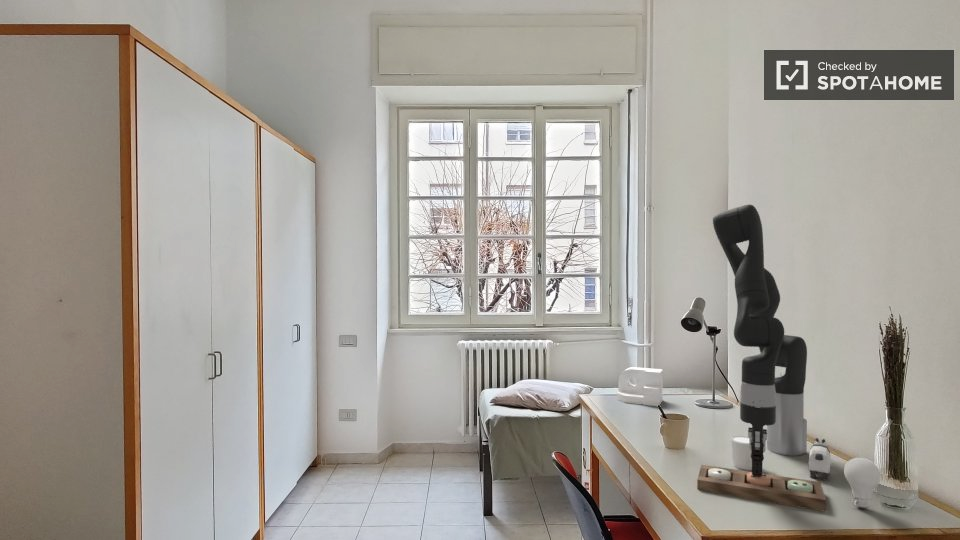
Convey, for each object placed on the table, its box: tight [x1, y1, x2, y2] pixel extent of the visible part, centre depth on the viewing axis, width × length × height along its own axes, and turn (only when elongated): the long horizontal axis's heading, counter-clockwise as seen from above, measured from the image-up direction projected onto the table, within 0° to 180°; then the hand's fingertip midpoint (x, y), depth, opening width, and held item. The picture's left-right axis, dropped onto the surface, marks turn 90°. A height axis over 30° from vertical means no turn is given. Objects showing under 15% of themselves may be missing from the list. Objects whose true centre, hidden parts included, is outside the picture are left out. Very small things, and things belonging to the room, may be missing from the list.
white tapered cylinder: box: [729, 435, 752, 471], centre depth 149 cm, size 7×7×7 cm
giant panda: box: [808, 437, 831, 481], centre depth 144 cm, size 12×5×8 cm, turn 147°
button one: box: [708, 468, 731, 481], centre depth 136 cm, size 5×5×2 cm
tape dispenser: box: [616, 366, 664, 407], centre depth 217 cm, size 16×10×13 cm, turn 64°
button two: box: [788, 480, 813, 494], centre depth 129 cm, size 5×5×2 cm
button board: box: [696, 464, 827, 512], centre depth 133 cm, size 26×11×2 cm, turn 64°
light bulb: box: [843, 457, 881, 510], centre depth 123 cm, size 7×7×11 cm
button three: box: [747, 471, 771, 487], centre depth 133 cm, size 5×5×2 cm
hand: (757, 475), depth 133 cm, fingers closed
